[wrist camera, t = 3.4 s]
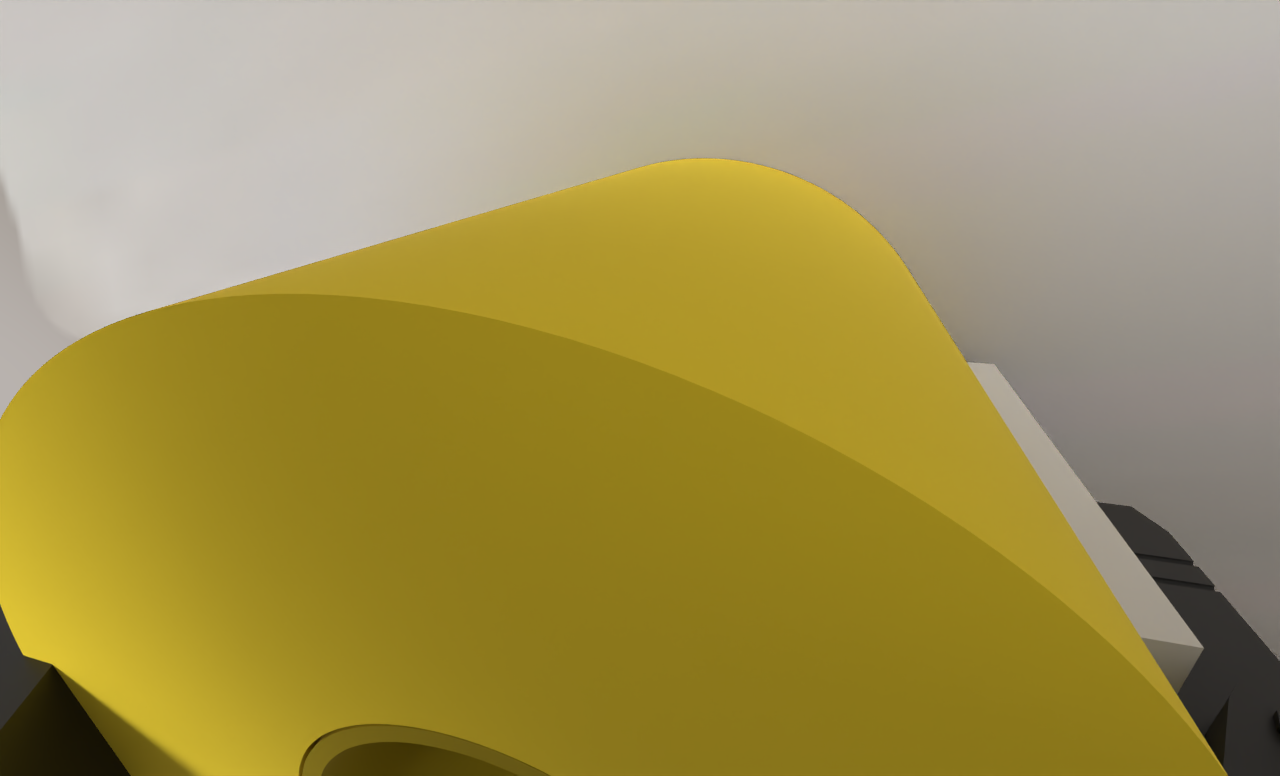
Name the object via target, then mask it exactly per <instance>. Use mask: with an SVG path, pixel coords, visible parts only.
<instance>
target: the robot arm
mask: <svg viewBox="0 0 1280 776" xmlns="http://www.w3.org/2000/svg"><path fill="white" fill-rule="evenodd" d="M967 363H968V365H969V367H970V368H971V370H972V371H973V373H974V374H975V376H976V378H977V379H978V381H979V382H980V384H981V385H982V387H983V389H984V390H985V392H986V393H987V395H988V397H989V398H990V400H991V401H992V403H993V404H994V406H995V408H996V409H997V411H998V412H999V414H1000V416H1001V417H1002V419H1003V420H1004V422H1005V423H1006V425H1007V427H1008V428H1009V430H1010V431H1011V433H1012V435H1013V436H1014V438H1015V439H1016V441H1017V442H1018V444H1019V446H1020V447H1021V449H1022V450H1023V452H1024V454H1025V455H1026V457H1027V458H1028V460H1029V461H1030V463H1031V465H1032V466H1033V468H1034V469H1035V471H1036V472H1037V474H1038V476H1039V477H1040V479H1041V480H1042V482H1043V484H1044V485H1045V487H1046V488H1047V490H1048V491H1049V493H1050V495H1051V496H1052V498H1053V499H1054V501H1055V503H1056V504H1057V506H1058V507H1059V509H1060V510H1061V512H1062V514H1063V515H1064V517H1065V518H1066V520H1067V522H1068V523H1069V525H1070V526H1071V528H1072V529H1073V531H1074V533H1075V534H1076V536H1077V537H1078V539H1079V540H1080V542H1081V544H1082V545H1083V547H1084V548H1085V550H1086V552H1087V553H1088V555H1089V556H1090V558H1091V559H1092V561H1093V563H1094V564H1095V566H1096V567H1097V569H1098V571H1099V572H1100V574H1101V575H1102V577H1103V578H1104V580H1105V582H1106V583H1107V585H1108V586H1109V588H1110V590H1111V591H1112V593H1113V594H1114V596H1115V597H1116V599H1117V601H1118V602H1119V604H1120V605H1121V607H1122V608H1123V610H1124V612H1125V613H1126V615H1127V616H1128V618H1129V620H1130V621H1131V623H1132V624H1133V626H1134V627H1135V629H1136V631H1137V632H1138V634H1139V635H1140V637H1141V639H1142V640H1143V642H1144V643H1145V645H1146V646H1147V648H1148V650H1149V651H1150V653H1151V654H1152V656H1153V658H1154V659H1155V661H1156V662H1157V664H1158V665H1159V667H1160V669H1161V670H1162V672H1163V673H1164V675H1165V676H1166V678H1167V680H1168V681H1169V683H1170V684H1171V686H1172V688H1173V689H1174V691H1175V692H1176V694H1177V695H1178V697H1179V699H1180V700H1181V702H1182V703H1183V705H1184V707H1185V708H1186V710H1187V711H1188V713H1189V714H1190V716H1191V718H1192V719H1193V721H1194V722H1195V724H1196V726H1197V727H1198V729H1199V730H1200V732H1201V733H1202V735H1203V737H1204V738H1205V740H1206V741H1207V743H1208V744H1209V746H1210V748H1211V749H1212V751H1213V752H1214V754H1215V756H1216V757H1217V759H1218V760H1219V762H1220V763H1221V765H1222V767H1223V768H1224V770H1225V771H1226V773H1227V775H1228V776H1280V661H1279V660H1278V659H1277V658H1276V657H1275V655H1274V654H1273V653H1272V652H1271V651H1270V650H1269V648H1268V647H1267V646H1266V645H1265V644H1264V643H1263V641H1262V640H1261V639H1260V638H1259V637H1258V636H1257V634H1256V633H1255V632H1254V631H1253V630H1252V629H1251V627H1250V626H1249V625H1248V624H1247V623H1246V622H1245V620H1244V619H1243V618H1242V617H1241V616H1240V615H1239V614H1238V612H1237V611H1236V610H1235V609H1234V608H1233V607H1232V605H1231V604H1230V603H1229V602H1228V601H1227V600H1226V598H1225V597H1224V596H1223V595H1222V594H1221V593H1220V592H1215V590H1214V584H1213V583H1212V582H1211V581H1210V580H1209V579H1208V577H1207V576H1206V575H1205V574H1204V573H1203V572H1202V570H1201V569H1200V568H1199V567H1195V566H1193V560H1192V559H1191V558H1190V556H1189V555H1188V554H1187V553H1186V552H1185V551H1184V549H1183V548H1182V547H1181V546H1180V545H1179V544H1178V542H1177V541H1176V540H1175V539H1174V538H1173V537H1172V536H1171V534H1170V533H1169V532H1167V531H1166V530H1165V529H1163V528H1162V527H1160V526H1159V525H1157V524H1156V523H1154V522H1153V521H1151V520H1150V519H1148V518H1147V517H1146V516H1144V515H1143V514H1141V513H1140V512H1138V511H1137V510H1135V509H1134V508H1132V507H1130V506H1122V505H1114V504H1106V503H1098V502H1096V501H1095V500H1094V498H1093V497H1092V496H1091V494H1090V493H1089V492H1088V490H1087V489H1086V488H1085V486H1084V485H1083V484H1082V482H1081V481H1080V479H1079V478H1078V477H1077V475H1076V474H1075V473H1074V471H1073V470H1072V469H1071V467H1070V466H1069V465H1068V463H1067V462H1066V460H1065V459H1064V458H1063V456H1062V455H1061V454H1060V452H1059V451H1058V450H1057V448H1056V447H1055V446H1054V444H1053V443H1052V442H1051V440H1050V439H1049V437H1048V436H1047V435H1046V433H1045V432H1044V431H1043V429H1042V428H1041V427H1040V425H1039V424H1038V423H1037V421H1036V420H1035V418H1034V417H1033V416H1032V414H1031V413H1030V412H1029V410H1028V409H1027V408H1026V406H1025V405H1024V404H1023V402H1022V401H1021V400H1020V398H1019V397H1018V395H1017V394H1016V393H1015V391H1014V390H1013V389H1012V387H1011V386H1010V385H1009V383H1008V382H1007V381H1006V379H1005V378H1004V376H1003V375H1002V374H1001V372H1000V371H999V370H998V368H997V367H996V366H995V364H986V363H973V362H967ZM0 776H131V775H130V774H129V772H128V771H127V770H126V768H125V767H124V765H123V764H122V762H121V761H120V760H119V758H118V757H117V755H116V754H115V752H114V751H113V750H112V748H111V747H110V745H109V744H108V742H107V741H106V740H105V738H104V737H103V735H102V734H101V733H100V731H99V730H98V728H97V727H96V725H95V724H94V723H93V721H92V720H91V718H90V717H89V715H88V714H87V713H86V711H85V710H84V708H83V707H82V706H81V704H80V703H79V701H78V700H77V698H76V697H75V696H74V694H73V693H72V691H71V690H70V688H69V687H68V686H67V684H66V683H65V681H64V680H63V679H62V677H61V676H60V674H59V673H58V671H57V670H56V669H55V667H54V666H53V664H50V663H46V662H43V661H40V660H37V659H34V658H30V657H27V656H24V655H23V654H22V652H21V650H20V648H19V646H18V644H17V642H16V640H15V638H14V636H13V634H12V631H11V629H10V627H9V625H8V622H7V620H6V618H5V615H4V613H3V610H2V608H1V605H0Z"/></svg>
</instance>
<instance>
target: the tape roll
mask: <svg viewBox="0 0 1280 776" xmlns="http://www.w3.org/2000/svg"><path fill="white" fill-rule="evenodd" d="M0 605H1V608H2V610H3V613H4V615H5V618H6V620H7V622H8V625H9V627H10V629H11V631H12V634H13V636H14V638H15V640H16V642H17V644H18V646H19V648H20V650H21V652H22V654H23V655H24V656H27V657H30V658H34V659H37V660H40V661H43V662H46V663H50V664H53V666H54V667H55V669H56V670H57V671H58V673H59V674H60V676H61V677H62V679H63V680H64V681H65V683H66V684H67V686H68V687H69V688H70V690H71V691H72V693H73V694H74V696H75V697H76V698H77V700H78V701H79V703H80V704H81V706H82V707H83V708H84V710H85V711H86V713H87V714H88V715H89V717H90V718H91V720H92V721H93V723H94V724H95V725H96V727H97V728H98V730H99V731H100V733H101V734H102V735H103V737H104V738H105V740H106V741H107V742H108V744H109V745H110V747H111V748H112V750H113V751H114V752H115V754H116V755H117V757H118V758H119V760H120V761H121V762H122V764H123V765H124V767H125V768H126V770H127V771H128V772H129V774H130V775H131V776H1228V775H1227V773H1226V771H1225V770H1224V768H1223V767H1222V765H1221V763H1220V762H1219V760H1218V759H1217V757H1216V756H1215V754H1214V752H1213V751H1212V749H1211V748H1210V746H1209V744H1208V743H1207V741H1206V740H1205V738H1204V737H1203V735H1202V733H1201V732H1200V730H1199V729H1198V727H1197V726H1196V724H1195V722H1194V721H1193V719H1192V718H1191V716H1190V714H1189V713H1188V711H1187V710H1186V708H1185V707H1184V705H1183V703H1182V702H1181V700H1180V699H1179V697H1178V695H1177V694H1176V692H1175V691H1174V689H1173V688H1172V686H1171V684H1170V683H1169V681H1168V680H1167V678H1166V676H1165V675H1164V673H1163V672H1162V670H1161V669H1160V667H1159V665H1158V664H1157V662H1156V661H1155V659H1154V658H1153V656H1152V654H1151V653H1150V651H1149V650H1148V648H1147V646H1146V645H1145V643H1144V642H1143V640H1142V639H1141V637H1140V635H1139V634H1138V632H1137V631H1136V629H1135V627H1134V626H1133V624H1132V623H1131V621H1130V620H1129V618H1128V616H1127V615H1126V613H1125V612H1124V610H1123V608H1122V607H1121V605H1120V604H1119V602H1118V601H1117V599H1116V597H1115V596H1114V594H1113V593H1112V591H1111V590H1110V588H1109V586H1108V585H1107V583H1106V582H1105V580H1104V578H1103V577H1102V575H1101V574H1100V572H1099V571H1098V569H1097V567H1096V566H1095V564H1094V563H1093V561H1092V559H1091V558H1090V556H1089V555H1088V553H1087V552H1086V550H1085V548H1084V547H1083V545H1082V544H1081V542H1080V540H1079V539H1078V537H1077V536H1076V534H1075V533H1074V531H1073V529H1072V528H1071V526H1070V525H1069V523H1068V522H1067V520H1066V518H1065V517H1064V515H1063V514H1062V512H1061V510H1060V509H1059V507H1058V506H1057V504H1056V503H1055V501H1054V499H1053V498H1052V496H1051V495H1050V493H1049V491H1048V490H1047V488H1046V487H1045V485H1044V484H1043V482H1042V480H1041V479H1040V477H1039V476H1038V474H1037V472H1036V471H1035V469H1034V468H1033V466H1032V465H1031V463H1030V461H1029V460H1028V458H1027V457H1026V455H1025V454H1024V452H1023V450H1022V449H1021V447H1020V446H1019V444H1018V442H1017V441H1016V439H1015V438H1014V436H1013V435H1012V433H1011V431H1010V430H1009V428H1008V427H1007V425H1006V423H1005V422H1004V420H1003V419H1002V417H1001V416H1000V414H999V412H998V411H997V409H996V408H995V406H994V404H993V403H992V401H991V400H990V398H989V397H988V395H987V393H986V392H985V390H984V389H983V387H982V385H981V384H980V382H979V381H978V379H977V378H976V376H975V374H974V373H973V371H972V370H971V368H970V367H969V365H968V363H967V362H966V360H965V359H964V357H963V355H962V354H961V352H960V351H959V349H958V348H957V346H956V344H955V343H954V341H953V340H952V338H951V336H950V335H949V333H948V332H947V330H946V329H945V327H944V325H943V324H942V322H941V321H940V319H939V317H938V316H937V314H936V313H935V311H934V310H933V308H932V306H931V305H930V303H929V302H928V300H927V299H926V297H925V295H924V294H923V292H922V291H921V289H920V287H919V286H918V284H917V283H916V281H915V280H914V278H913V276H912V275H911V273H910V272H909V270H908V268H907V267H906V265H905V264H904V262H903V261H902V259H901V258H900V257H899V255H898V254H897V253H896V251H895V250H894V249H893V248H892V246H891V245H890V244H889V243H888V242H887V240H886V239H885V238H884V237H883V236H882V235H881V234H880V233H879V232H878V231H877V230H876V229H875V228H874V227H873V226H872V225H871V224H870V223H869V222H868V221H867V220H866V219H865V218H863V217H862V216H861V215H860V214H859V213H857V212H856V211H855V210H854V209H852V208H851V207H850V206H848V205H847V204H845V203H844V202H843V201H841V200H840V199H838V198H837V197H835V196H833V195H832V194H830V193H828V192H827V191H825V190H823V189H821V188H819V187H818V186H816V185H814V184H812V183H810V182H807V181H805V180H803V179H801V178H798V177H796V176H793V175H791V174H788V173H785V172H783V171H780V170H776V169H773V168H770V167H766V166H762V165H758V164H753V163H748V162H743V161H736V160H727V159H712V158H696V159H681V160H672V161H666V162H660V163H655V164H651V165H647V166H643V167H639V168H636V169H632V170H629V171H626V172H622V173H619V174H615V175H612V176H609V177H605V178H602V179H598V180H595V181H592V182H588V183H585V184H581V185H578V186H574V187H571V188H568V189H564V190H561V191H557V192H554V193H551V194H547V195H544V196H540V197H537V198H534V199H530V200H527V201H523V202H520V203H516V204H513V205H510V206H506V207H503V208H499V209H496V210H493V211H489V212H486V213H482V214H479V215H476V216H472V217H469V218H465V219H462V220H458V221H455V222H452V223H448V224H445V225H441V226H438V227H435V228H431V229H428V230H424V231H421V232H418V233H414V234H411V235H407V236H404V237H400V238H397V239H394V240H390V241H387V242H383V243H380V244H377V245H373V246H370V247H366V248H363V249H360V250H356V251H353V252H349V253H346V254H342V255H339V256H336V257H332V258H329V259H325V260H322V261H319V262H315V263H312V264H308V265H305V266H302V267H298V268H295V269H291V270H288V271H284V272H281V273H278V274H274V275H271V276H267V277H264V278H261V279H257V280H254V281H250V282H247V283H244V284H240V285H237V286H233V287H230V288H226V289H223V290H220V291H216V292H213V293H209V294H206V295H203V296H199V297H196V298H192V299H189V300H186V301H182V302H179V303H175V304H172V305H168V306H165V307H162V308H158V309H155V310H151V311H148V312H145V313H141V314H138V315H135V316H132V317H129V318H126V319H124V320H121V321H118V322H116V323H113V324H111V325H108V326H106V327H104V328H102V329H99V330H97V331H95V332H93V333H91V334H89V335H87V336H85V337H84V338H82V339H80V340H78V341H76V342H75V343H73V344H72V345H70V346H68V347H67V348H65V349H64V350H62V351H61V352H60V353H58V354H57V355H55V356H54V357H53V358H52V359H50V360H49V361H48V362H46V363H45V364H44V365H43V366H42V367H41V368H40V369H39V370H37V371H36V372H35V374H33V375H32V376H31V377H30V378H29V380H28V381H27V382H26V383H25V384H24V385H23V386H22V388H21V389H20V390H19V391H18V392H17V394H16V395H15V396H14V398H13V399H12V401H11V402H10V403H9V405H8V407H7V408H6V410H5V412H4V413H3V415H2V417H1V419H0Z"/></svg>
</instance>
